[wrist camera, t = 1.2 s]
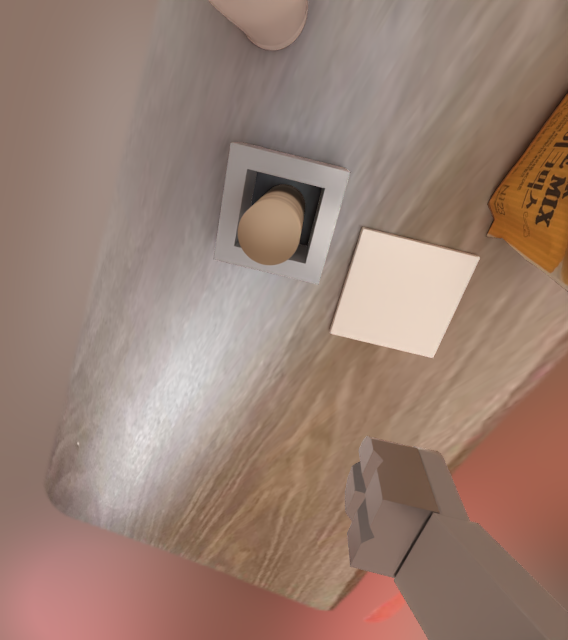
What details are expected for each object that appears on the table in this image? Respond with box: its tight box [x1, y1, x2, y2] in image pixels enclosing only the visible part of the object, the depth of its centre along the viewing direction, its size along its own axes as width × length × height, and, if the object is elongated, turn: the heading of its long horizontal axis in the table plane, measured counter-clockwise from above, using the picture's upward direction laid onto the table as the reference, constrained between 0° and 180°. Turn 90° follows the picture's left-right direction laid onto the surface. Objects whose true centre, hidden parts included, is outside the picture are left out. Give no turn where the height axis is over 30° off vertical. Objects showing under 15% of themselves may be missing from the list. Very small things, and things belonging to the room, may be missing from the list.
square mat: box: [330, 227, 480, 358], centre depth 37 cm, size 11×11×1 cm
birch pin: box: [238, 184, 306, 265], centre depth 29 cm, size 4×4×12 cm
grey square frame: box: [213, 142, 351, 285], centre depth 32 cm, size 9×9×6 cm
